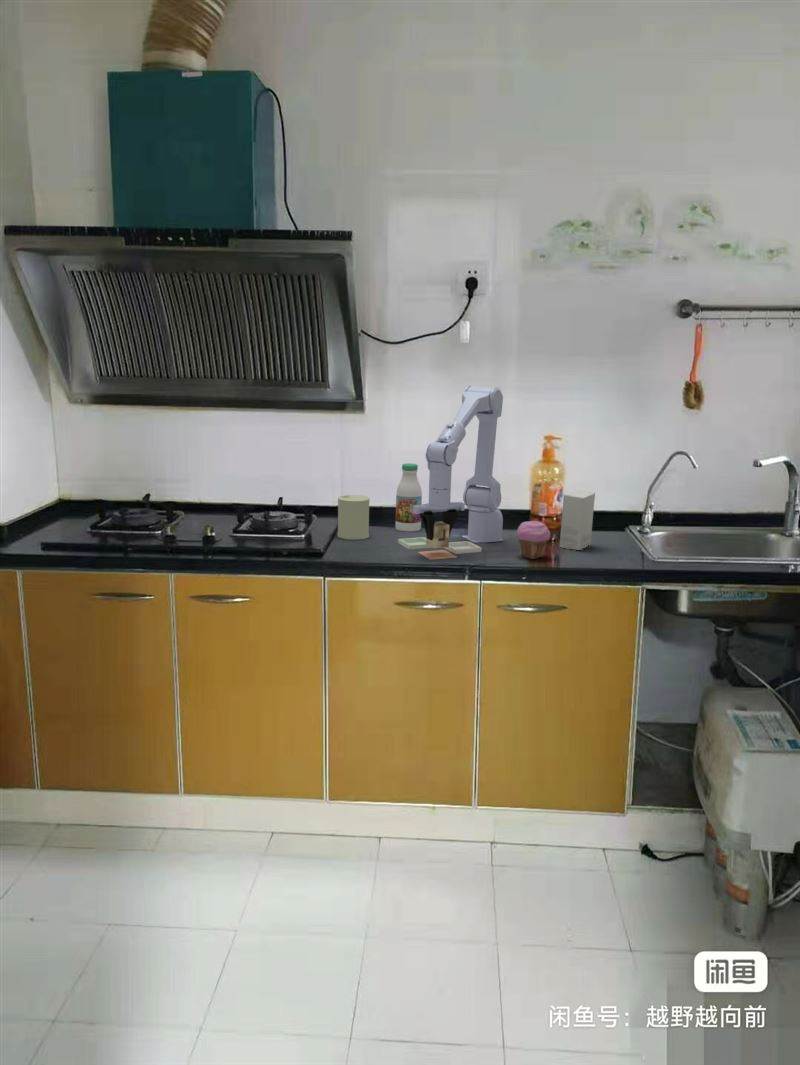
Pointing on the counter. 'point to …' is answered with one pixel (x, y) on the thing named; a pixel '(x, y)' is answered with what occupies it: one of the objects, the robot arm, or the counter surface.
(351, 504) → the can
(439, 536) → the brown block
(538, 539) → the cupcake
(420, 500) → the milk bottle
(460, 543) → the light grey tray
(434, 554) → the terracotta pad
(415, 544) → the sage green tray
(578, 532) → the skincare box
